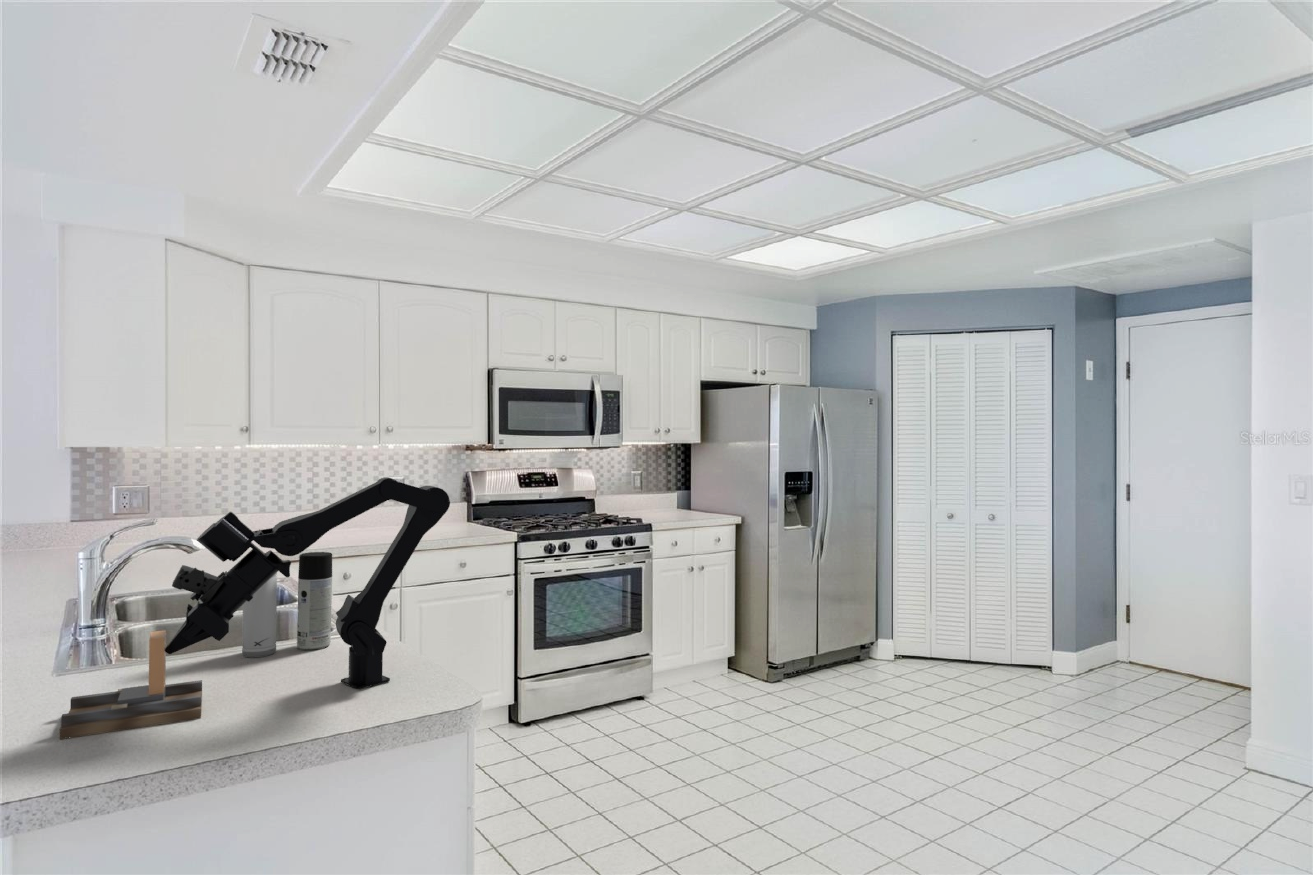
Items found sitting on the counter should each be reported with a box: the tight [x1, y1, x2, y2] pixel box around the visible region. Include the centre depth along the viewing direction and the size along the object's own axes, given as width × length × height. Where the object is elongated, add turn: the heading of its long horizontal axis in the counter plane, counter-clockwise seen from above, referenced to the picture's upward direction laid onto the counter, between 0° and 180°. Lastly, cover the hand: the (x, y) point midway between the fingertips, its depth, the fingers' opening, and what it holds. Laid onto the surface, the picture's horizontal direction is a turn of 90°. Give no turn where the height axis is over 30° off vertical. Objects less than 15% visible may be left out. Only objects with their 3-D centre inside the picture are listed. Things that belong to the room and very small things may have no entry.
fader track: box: [59, 679, 203, 740], centre depth 122 cm, size 18×12×3 cm, turn 120°
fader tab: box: [118, 630, 167, 705], centre depth 122 cm, size 6×6×11 cm
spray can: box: [296, 551, 333, 651], centre depth 162 cm, size 7×7×20 cm
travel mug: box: [241, 572, 278, 659], centre depth 157 cm, size 6×7×20 cm
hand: (166, 652), depth 124 cm, fingers closed, pressing on fader tab
